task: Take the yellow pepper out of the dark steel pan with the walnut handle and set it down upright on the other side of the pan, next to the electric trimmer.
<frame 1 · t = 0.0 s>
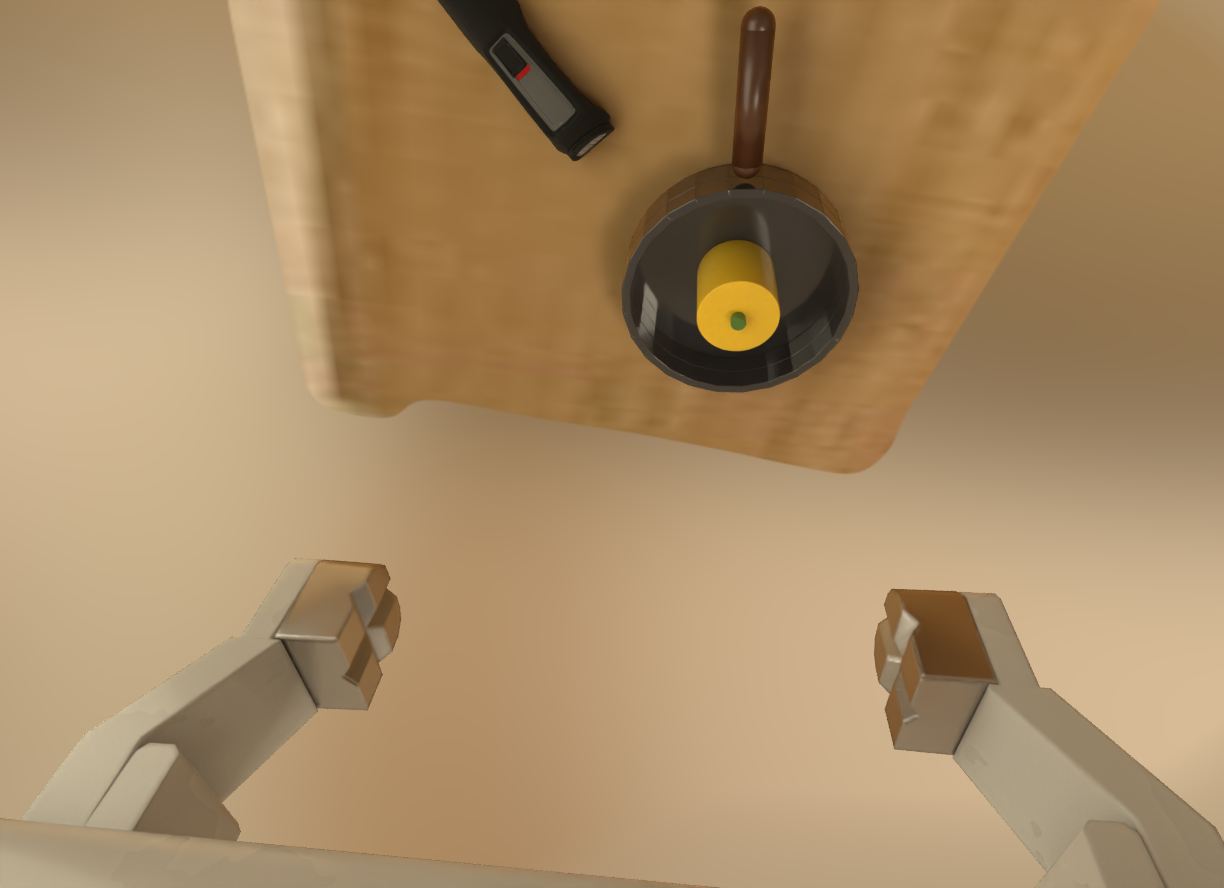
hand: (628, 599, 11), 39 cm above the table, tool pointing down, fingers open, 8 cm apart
yellow pepper: (735, 274, 50), resting on pan
pan: (735, 272, 50), on the table
electric trimmer: (513, 42, 41), on the table
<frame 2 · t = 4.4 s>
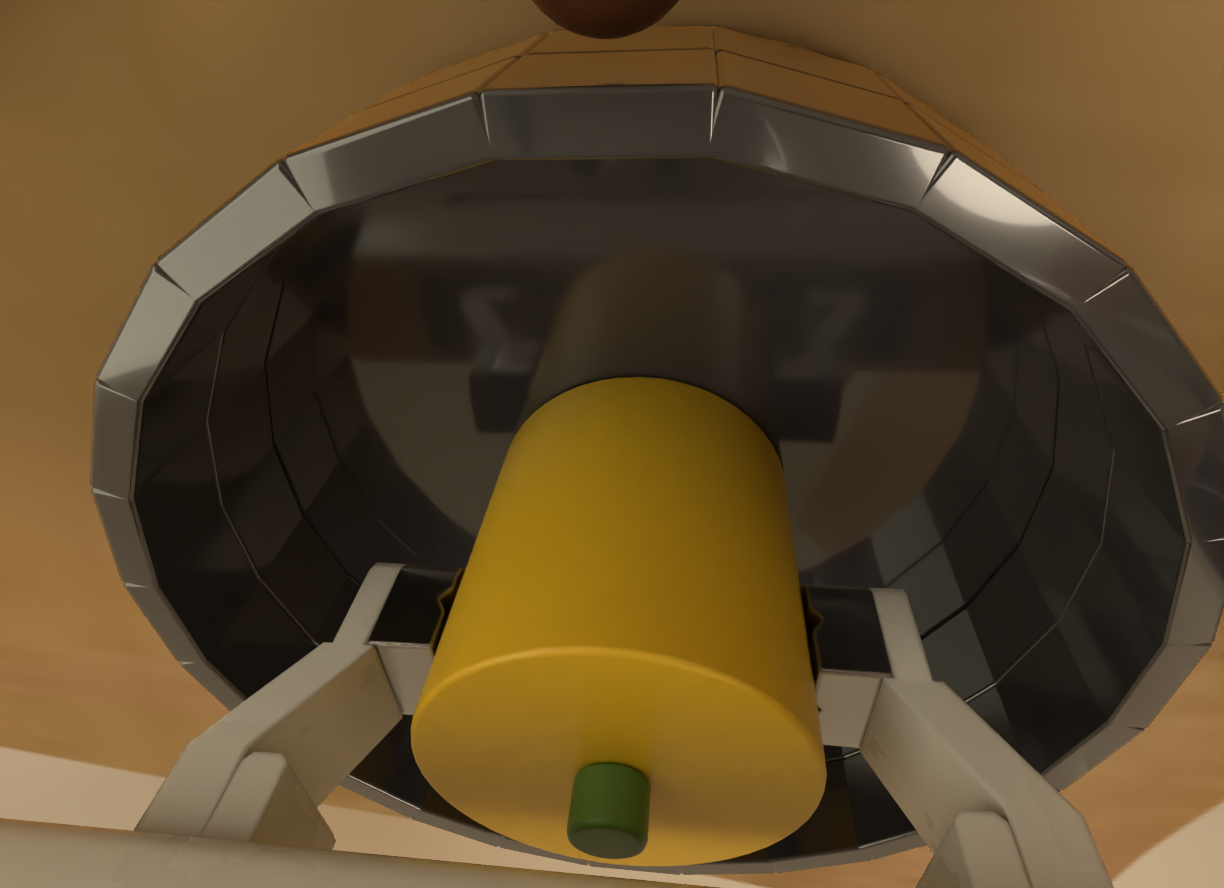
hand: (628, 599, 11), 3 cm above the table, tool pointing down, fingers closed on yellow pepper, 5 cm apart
yellow pepper: (642, 493, 13), resting on pan, touching gripper
pan: (641, 483, 14), on the table
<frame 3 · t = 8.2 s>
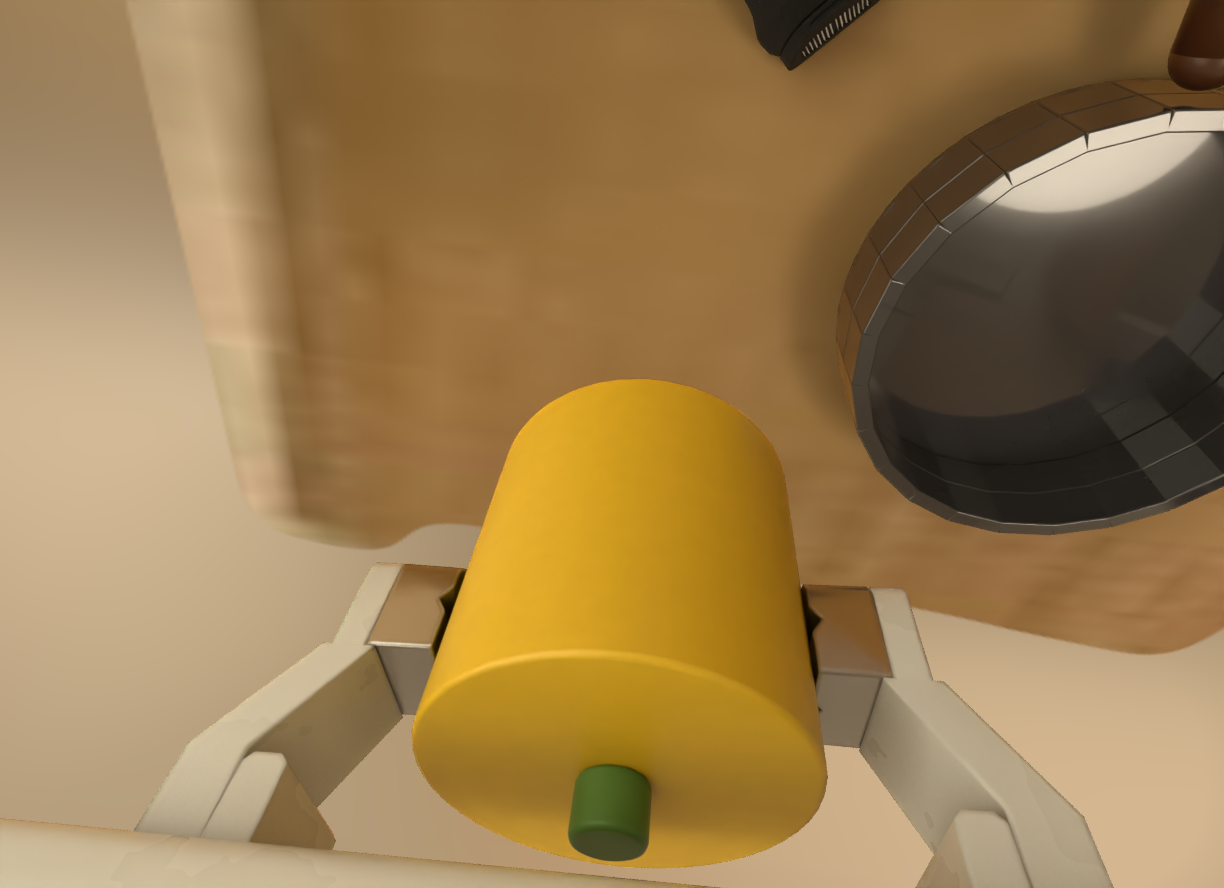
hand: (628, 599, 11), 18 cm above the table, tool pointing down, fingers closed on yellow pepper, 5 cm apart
yellow pepper: (642, 495, 13), point 15 cm above the table, touching gripper
pan: (1052, 310, 26), on the table
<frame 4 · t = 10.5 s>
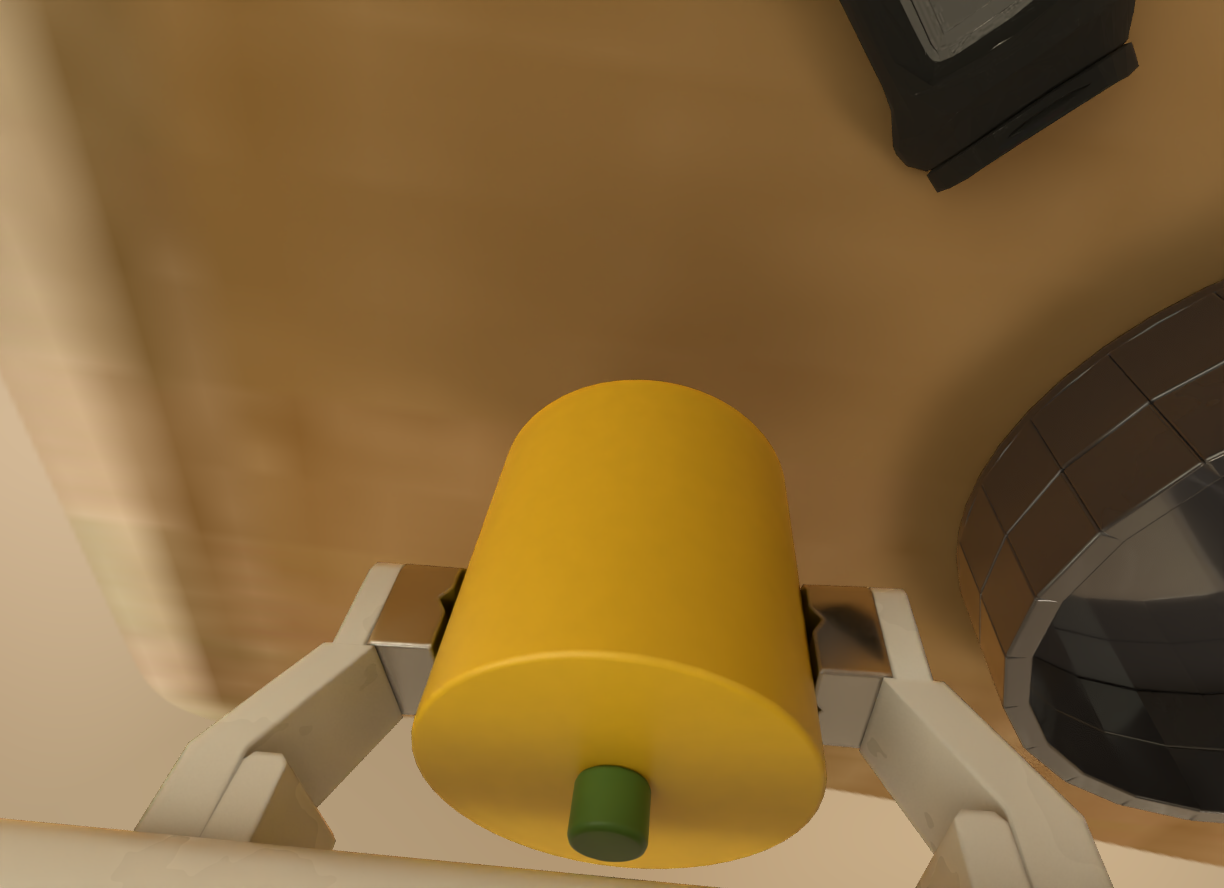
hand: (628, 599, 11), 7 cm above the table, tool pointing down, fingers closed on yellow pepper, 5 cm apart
yellow pepper: (642, 495, 13), point 4 cm above the table, touching gripper
when the fingers open (2 cm above the table, at t = 12.2 s): yellow pepper stays where it is, on the table.
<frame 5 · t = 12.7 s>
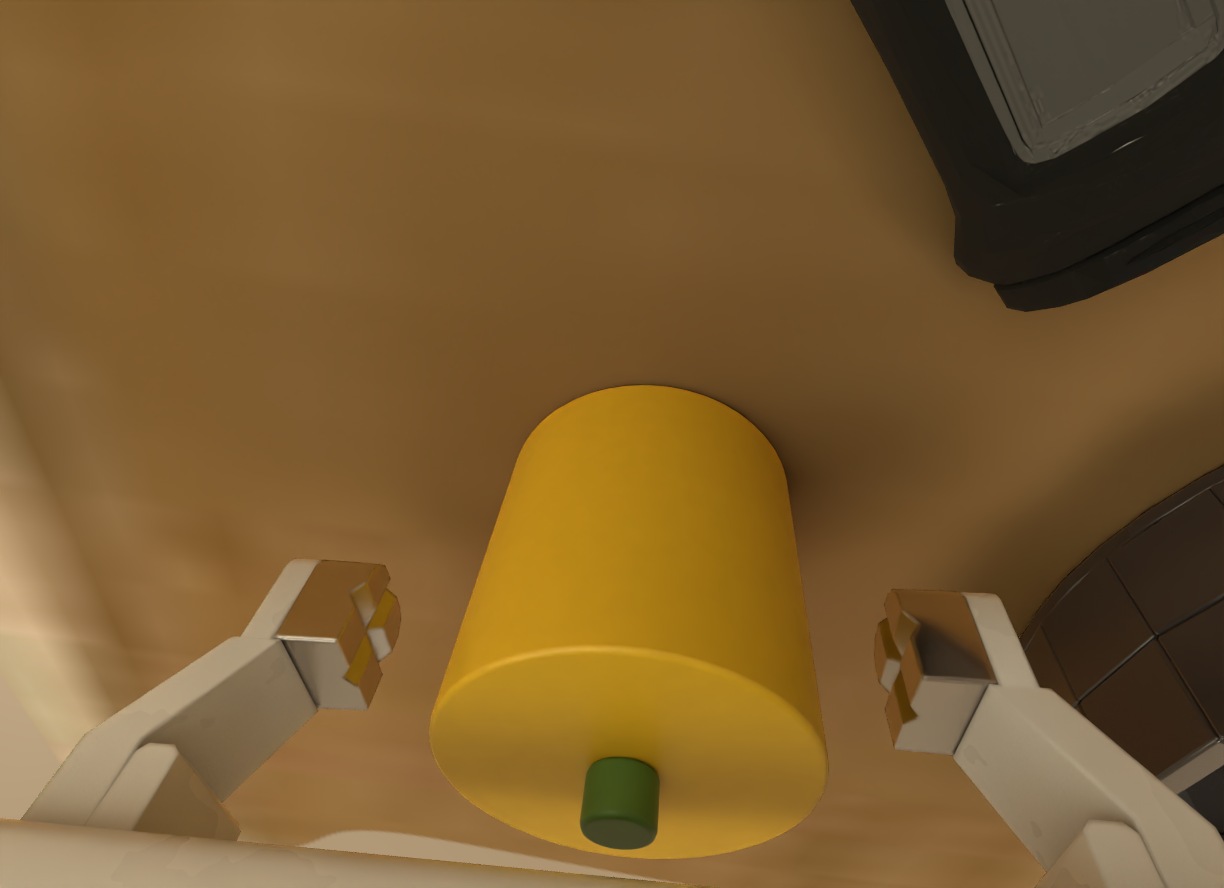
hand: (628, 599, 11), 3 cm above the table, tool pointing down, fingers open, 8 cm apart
yellow pepper: (648, 497, 14), on the table
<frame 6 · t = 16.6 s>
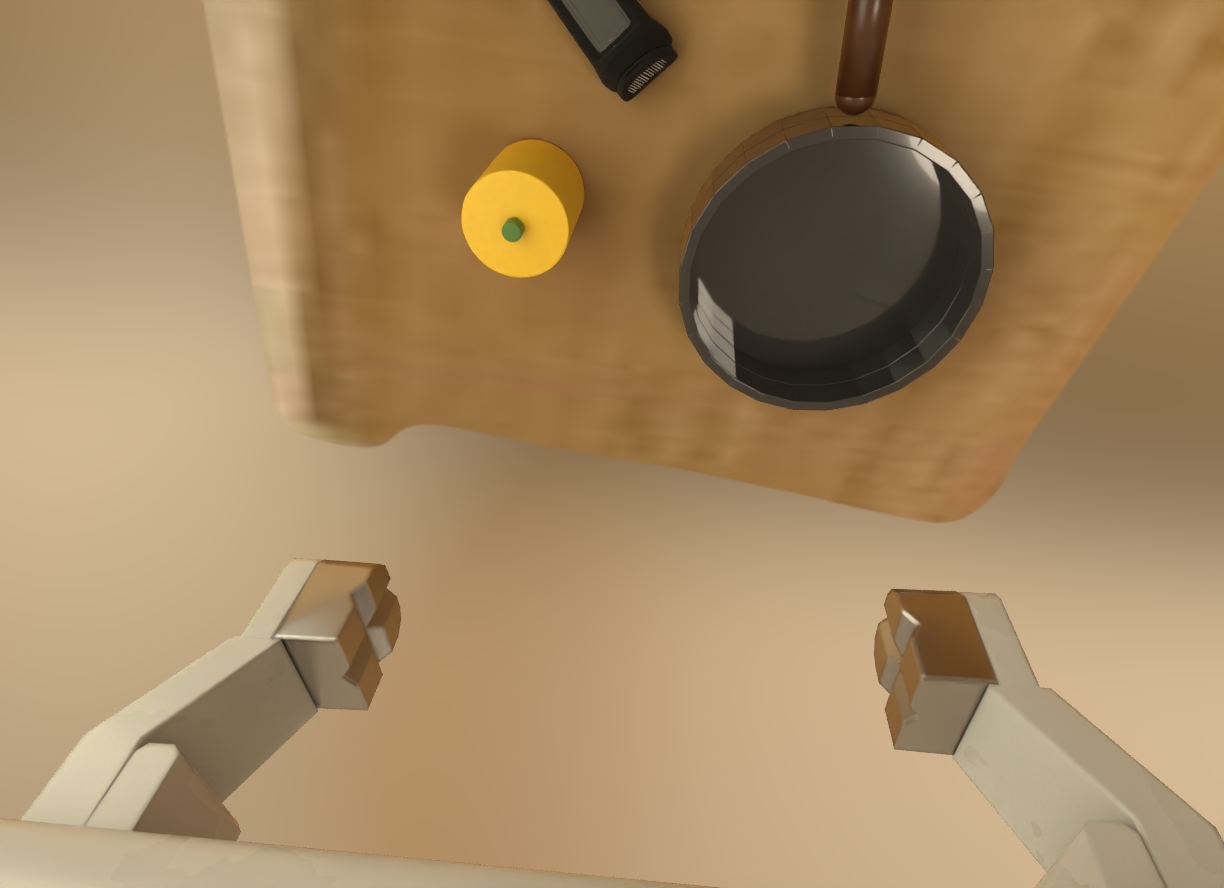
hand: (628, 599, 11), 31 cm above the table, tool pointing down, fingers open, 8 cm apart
yellow pepper: (536, 190, 39), on the table
pan: (819, 256, 39), on the table
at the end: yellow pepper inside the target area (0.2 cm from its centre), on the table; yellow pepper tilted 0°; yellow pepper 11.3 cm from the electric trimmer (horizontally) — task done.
